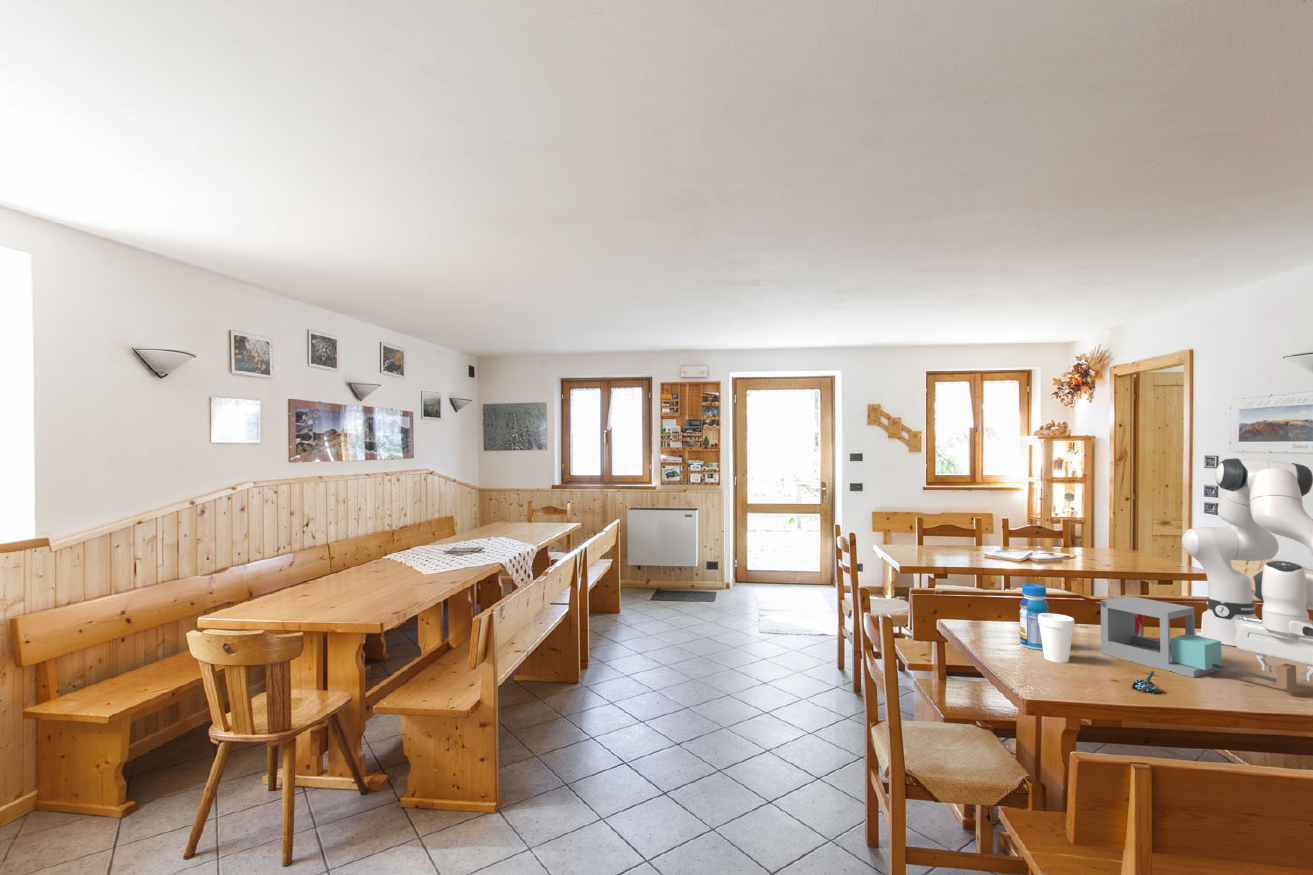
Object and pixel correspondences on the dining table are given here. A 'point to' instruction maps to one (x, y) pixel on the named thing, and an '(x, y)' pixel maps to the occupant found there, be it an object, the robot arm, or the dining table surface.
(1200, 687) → the dining table surface
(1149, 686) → the blue bumpy stemmed lump
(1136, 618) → the soda can
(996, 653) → the dining table surface
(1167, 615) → the shelf lane
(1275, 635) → the robot arm
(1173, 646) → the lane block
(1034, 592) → the beverage bottle
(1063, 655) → the foam cup
